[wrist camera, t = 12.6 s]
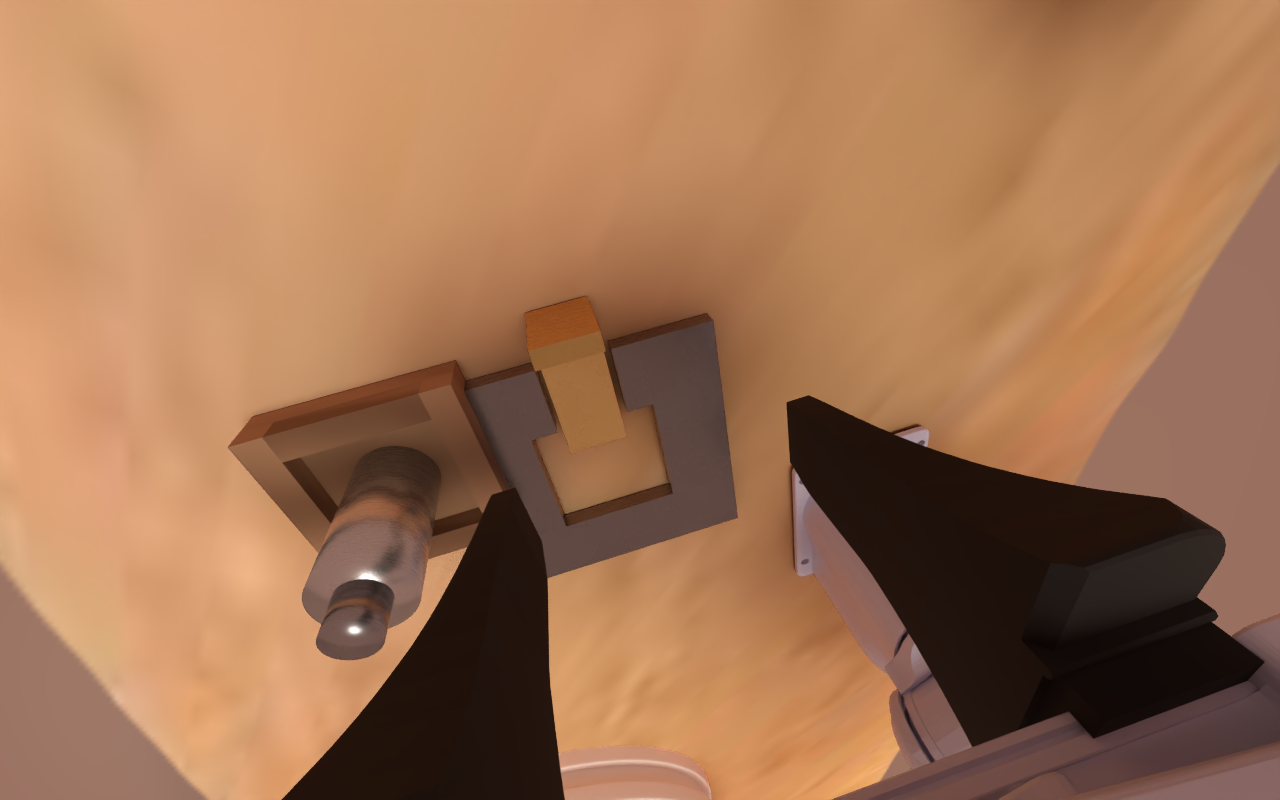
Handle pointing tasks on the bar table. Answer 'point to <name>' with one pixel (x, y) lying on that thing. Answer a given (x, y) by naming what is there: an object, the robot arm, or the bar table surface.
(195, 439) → the bar table surface
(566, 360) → the golden l-shaped block
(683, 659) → the bar table surface
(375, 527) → the peg
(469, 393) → the socket collar
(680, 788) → the plate stack
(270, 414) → the square wooden tray
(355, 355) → the bar table surface
